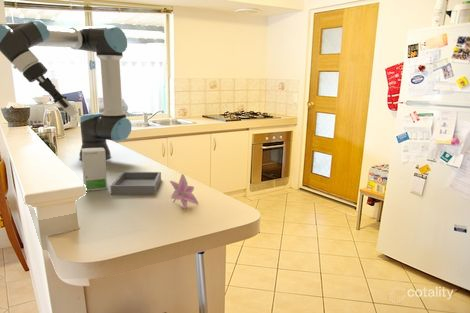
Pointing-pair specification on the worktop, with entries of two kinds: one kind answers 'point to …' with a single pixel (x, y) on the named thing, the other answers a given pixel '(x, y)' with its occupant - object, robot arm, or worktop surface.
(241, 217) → the worktop surface
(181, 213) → the worktop surface
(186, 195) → the lily
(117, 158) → the worktop surface
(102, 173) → the skincare box
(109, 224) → the worktop surface
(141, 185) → the tray
